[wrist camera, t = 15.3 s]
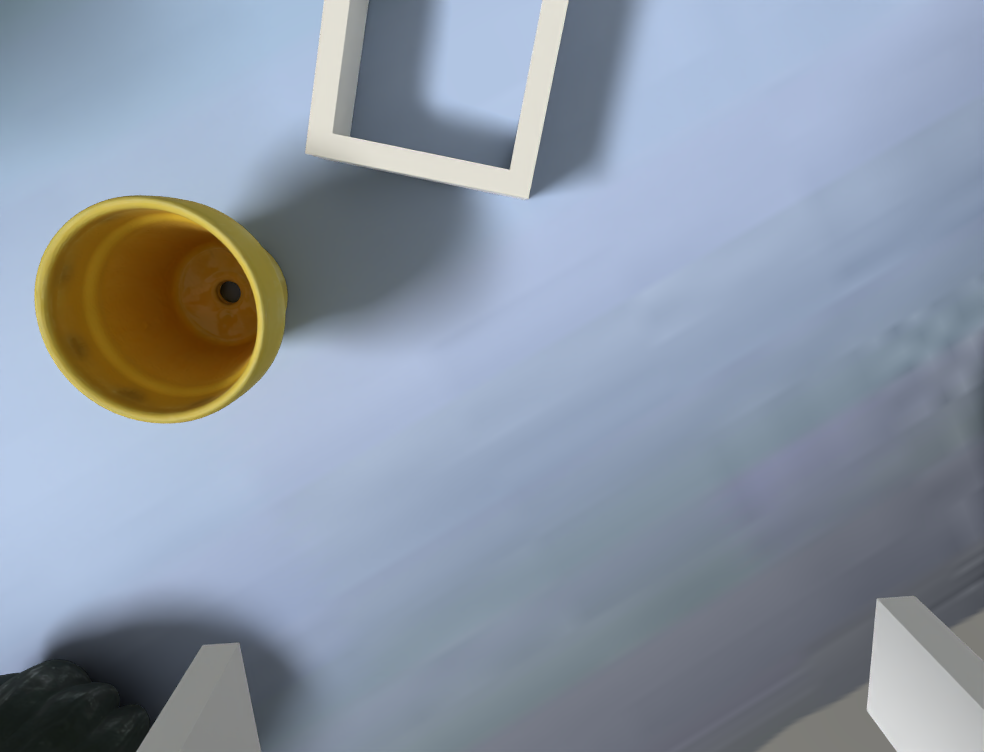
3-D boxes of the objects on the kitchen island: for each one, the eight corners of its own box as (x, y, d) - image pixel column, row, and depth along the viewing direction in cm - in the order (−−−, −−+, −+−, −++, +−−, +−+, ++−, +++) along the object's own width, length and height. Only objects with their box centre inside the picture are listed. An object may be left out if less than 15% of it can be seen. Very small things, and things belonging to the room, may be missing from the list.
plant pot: (268, 168, 38) (191, 153, 28) (352, 334, 40) (306, 372, 30) (110, 245, 39) (-16, 256, 29) (200, 403, 41) (110, 460, 32)
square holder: (324, 159, 38) (305, 153, 34) (354, -67, 35) (337, -102, 31) (525, 200, 38) (528, 198, 34) (569, -20, 35) (578, -49, 32)
